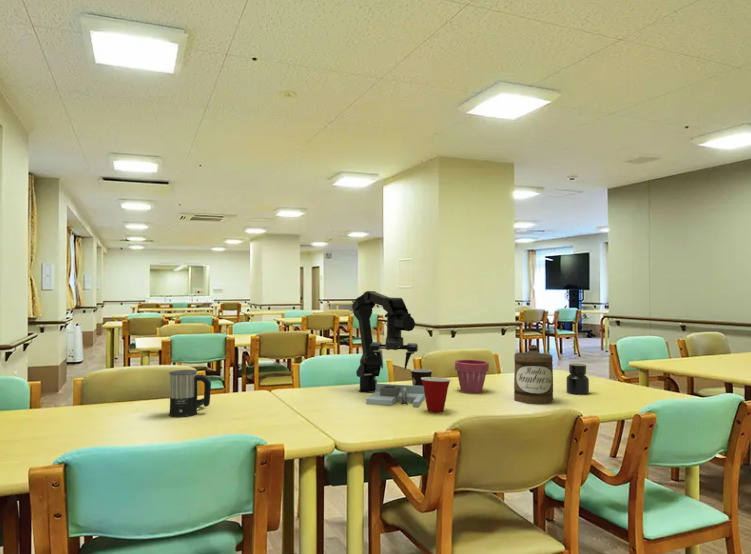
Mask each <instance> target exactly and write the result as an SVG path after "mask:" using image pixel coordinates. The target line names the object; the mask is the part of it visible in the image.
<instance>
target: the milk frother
mask: <svg viewBox="0 0 751 554" xmlns="http://www.w3.org/2000/svg"><path fill="white" fill-rule="evenodd" d="M197 373H198V371H197V369H178V370H171V371H169V372H168V374H169V412H168V416H170V417H173V418H185V417H192V416H195V415H197V414H198V411H197V409H198V408H200V407H201V406H204V407H205V408H206V407H208V406H209V405H210V402H211V391H212V382H211V378H209V377H208V376H207V375H204V374H197ZM199 381H200V382H203V384H204V387H203V390H204V392H203V398H200V399H199V398H198V382H199Z"/></svg>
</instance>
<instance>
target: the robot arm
mask: <svg viewBox="0 0 751 554" xmlns="http://www.w3.org/2000/svg"><path fill="white" fill-rule="evenodd" d="M376 305H379V306H381V307H382V309H383V310H384V311H385V312H387V313H386V314H384V318H386V337H385V344H382V342H379V341H378V342H377V341H375V342H374V341H373V335H372V334H373V332H372V327H371V317H372V314H373V309H374V307H375V306H376ZM351 308H352V309H351V310H352V311H353V312H352V313H353V315H354V317H355V318H356V320H357V321H358V327H359V335H360V342H361V351H362V355H361V357H360V359H359V366H358V367H357V369H356V371H355V373H356V377H358V378H359V390H358V392H361V393H363V392H364V393H374V392H376V384H378V380H377V379H376V378H377V377H379V376H380V373H381V369H382V370H383V368H384V357H383V350H387V351H391V350H393V351H398V350H406V352H405V359H404V370H407V366H408V364H409V361H410V358H411V356H412V355H414V354H415V353H417V352H418V351H419V345H418V343H416V342H415V343H413V342H409V343H407V344H404V342H405V341H404V337H403V336H402V331H403V332H410V331H411V332H412V331H413V330H414V329H415V327H416V321H415V319H414V317H412V314H411V313H410V312H409V310H408V308H407V305H406V304H405V301H404V299H403V298H402V297H390V296H387V295H385V294H381V293H379V292H377V291H375V290H366V291H364V292H363V293H362V294H361V295H360V296H358V297H356V299H354V301H353V302H352V305H351Z"/></svg>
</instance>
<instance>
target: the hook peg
mask: <svg viewBox="0 0 751 554" xmlns="http://www.w3.org/2000/svg"><path fill="white" fill-rule="evenodd" d="M403 404H406V405H408V402H407V388H402V402H401V405H403Z"/></svg>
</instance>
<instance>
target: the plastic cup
mask: <svg viewBox="0 0 751 554" xmlns="http://www.w3.org/2000/svg"><path fill="white" fill-rule="evenodd" d="M421 379H422V382H423V387H424V393H425V399H424V401H425V402H426V403H425V405H426V409H427V412H428V413H432V412H433V413H435V414H436V413H437V414H440V412H441V413H443V412H444V410H445V406H446V401H447V395H448V390H449V387H450V386H449V385H450V383H451V381H452V379H451V378H446V377H435V376H434V377H433V376H431V377H422V378H421Z"/></svg>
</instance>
